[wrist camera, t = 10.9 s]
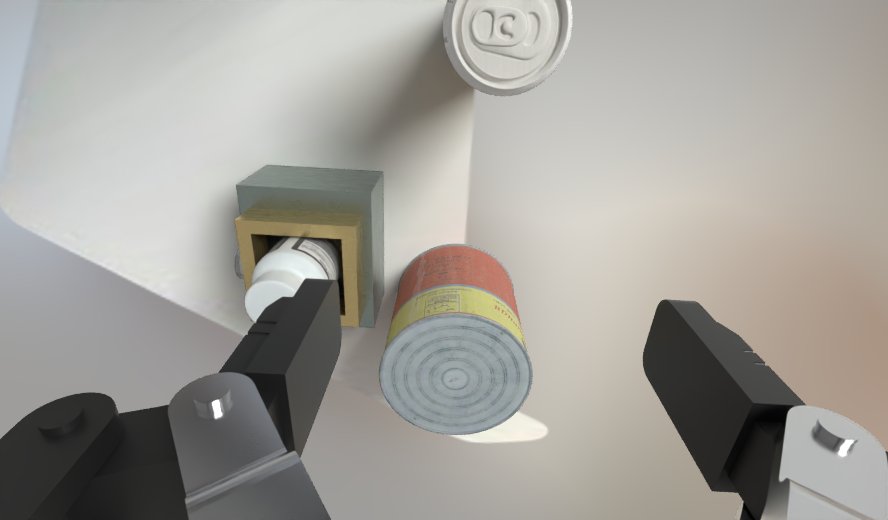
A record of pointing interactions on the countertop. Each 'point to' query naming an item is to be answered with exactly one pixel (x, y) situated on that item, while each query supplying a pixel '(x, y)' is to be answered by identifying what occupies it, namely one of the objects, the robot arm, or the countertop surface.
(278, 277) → the pill bottle
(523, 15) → the beer can
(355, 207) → the gold grey hollow block
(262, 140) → the countertop surface
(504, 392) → the canned food
